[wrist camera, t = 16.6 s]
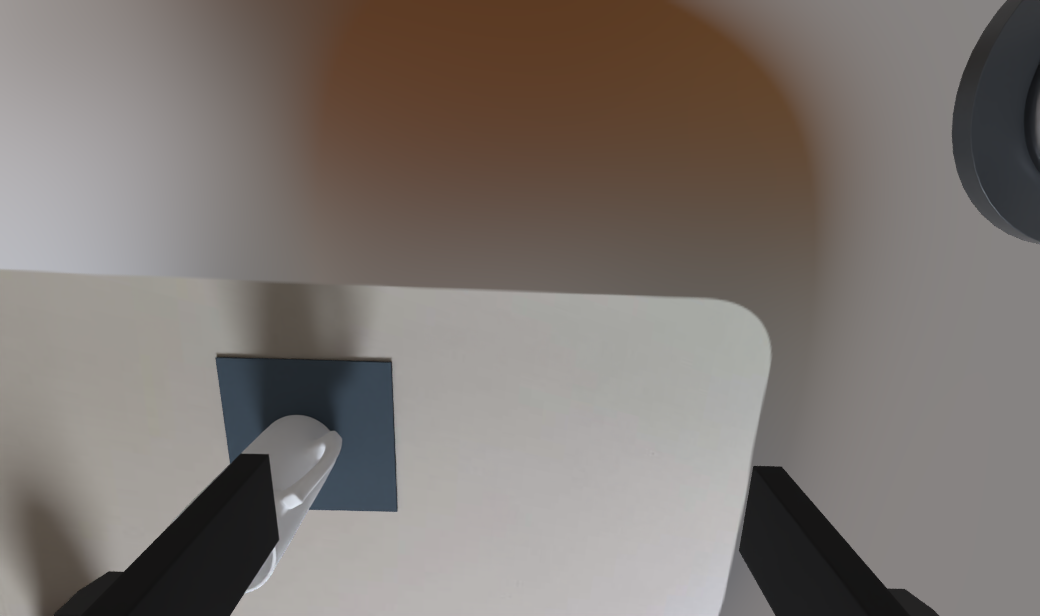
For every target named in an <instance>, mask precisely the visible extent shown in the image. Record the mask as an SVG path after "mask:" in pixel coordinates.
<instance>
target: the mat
mask: <svg viewBox="0 0 1040 616" xmlns="http://www.w3.org/2000/svg"><path fill="white" fill-rule="evenodd" d="M216 365H217V372H218V379H219V387H220V394H221V401H222V408H223V415H224V423H225V430H226V437H227V444H228V451H229V459H230V464H231V463H232V462H233V461H234V460H235V459H236V458H237V457H238V456H239V455H240V454H241V453H242V452H243V451H244V450H245V449H246V448H247V447H248V446H249V445H250V444H251V443H252V442H253V441H254V440H255V439H256V438H257V437H258V436H259V435H260V434H261V433H262V432H263V431H264V430H266V429H267V428H268V427H269V426H270V425H271V424H272V423H273V422H275V421H276V420H278V419H280V418H282V417H285V416H289V415H304V416H308V417H311V418H314V419H316V420H318V421H319V422H321V423H322V424H324V425H325V426H326V427H327V428H328V429H329V430H330V431H336V432H337V433H338V434H339V435H340V436H341V438H342V446H341V450H340V453H339V455H338V457H337V459H336V462H335V464H334V466H333V468H332V470H331V471H330V473H329V475H328V477H327V479H326V481H325V482H324V484H323V486H322V488H321V489H320V491H319V493H318V494H317V496H316V498H315V500H314V501H313V503H312V505H311V507H310V508H309V510H347V511H389V512H397V490H396V464H395V439H394V413H393V388H392V362H375V361H340V360H304V359H268V358H232V357H216Z"/></svg>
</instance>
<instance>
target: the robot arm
mask: <svg viewBox="0 0 1040 616" xmlns="http://www.w3.org/2000/svg"><path fill="white" fill-rule="evenodd" d="M1024 133H1025V140H1026V145H1027V149H1028V152H1029V155H1030V157H1031V160H1032V162H1033V164H1034V165H1035V167H1036V169H1037V170H1038V172H1039V173H1040V65H1039V66H1038V68H1037V70H1036V73H1035V75H1034V78H1033V80H1032V83H1031V86H1030V89H1029V92H1028V96H1027V101H1026V106H1025V114H1024ZM278 541H279V532H278V524H277V516H276V508H275V500H274V492H273V483H272V475H271V467H270V459H269V454H242V453H241V454H240V455H239V456H238V457H237V458H236V459H235V460H234V461H233V462H232V463H231V464H230V465H229V466H228V467H227V468H226V469H225V470H224V471H223V472H222V473H221V474H220V475H219V476H218V477H217V478H216V479H215V480H214V481H213V482H212V483H211V484H210V485H209V486H208V487H207V488H206V489H205V490H204V491H203V492H202V493H201V494H200V495H199V496H198V497H197V498H196V499H195V500H194V501H193V502H192V503H191V504H190V505H189V506H188V507H187V508H186V509H185V510H184V511H183V512H182V513H181V514H180V515H179V516H178V517H177V518H176V520H175V521H174V522H173V523H172V524H171V525H170V526H169V527H168V528H167V529H166V530H165V531H164V532H163V533H162V534H161V535H160V536H159V537H158V538H157V539H156V540H155V541H154V542H153V543H152V544H151V545H150V546H149V547H148V548H147V549H146V550H145V551H144V552H143V553H142V554H141V555H140V556H139V557H138V558H137V559H136V560H135V561H134V562H133V563H132V564H131V565H130V566H129V567H128V568H127V569H126V570H125V571H124V572H107V573H106V574H104V575H103V576H101V577H100V578H98V579H96V580H95V581H93V582H92V583H90V584H89V585H87V586H86V587H84V588H82V589H81V590H79V591H78V592H77V593H76V594H75V595H74V596H73V597H72V598H71V599H70V600H69V601H67V602H66V603H65V604H64V605H63V606H62V607H61V608H60V609H59V610H58V611H57V612H56V613H55V614H54V616H230V615H231V613H232V612H233V610H234V609H235V607H236V605H237V604H238V602H239V601H240V599H241V598H242V596H243V595H244V593H245V592H246V590H247V589H248V587H249V586H250V584H251V582H252V581H253V579H254V578H255V576H256V575H257V573H258V572H259V570H260V569H261V567H262V566H263V564H264V563H265V561H266V560H267V558H268V556H269V555H270V553H271V552H272V550H273V549H274V547H275V546H276V544H277V543H278ZM739 551H740V553H741V555H742V557H743V559H744V561H745V562H746V564H747V566H748V568H749V569H750V571H751V573H752V575H753V576H754V578H755V580H756V582H757V584H758V585H759V587H760V589H761V590H762V592H763V594H764V596H765V598H766V600H767V601H768V603H769V605H770V607H771V608H772V610H773V612H774V614H775V615H776V616H939V615H938V614H937V613H936V612H935V611H934V610H933V609H931V608H930V607H929V606H927V605H926V604H925V603H923V602H922V601H920V600H919V599H918V598H916V597H915V596H914V595H912V594H911V593H909V592H908V591H907V590H905V589H887V588H886V587H885V586H884V585H883V583H882V582H881V581H880V580H879V579H878V578H877V577H876V575H875V574H874V573H873V572H872V571H871V570H870V568H869V567H868V566H867V565H866V564H865V563H864V561H863V560H862V559H861V558H860V557H859V556H858V555H857V554H856V552H855V551H854V550H853V549H852V548H851V547H850V545H849V544H848V543H847V542H846V541H845V539H844V538H843V537H842V536H841V535H840V534H839V533H838V531H837V530H836V529H835V528H834V527H833V526H832V525H831V523H830V522H829V521H828V520H827V519H826V518H825V516H824V515H823V514H822V513H821V512H820V511H819V510H818V508H817V507H816V506H815V505H814V504H813V502H812V501H811V500H810V499H809V498H808V497H807V496H806V495H805V493H804V492H803V491H802V490H801V489H800V487H799V486H798V485H797V484H796V483H795V482H794V480H793V479H792V478H791V477H790V476H789V475H788V474H787V472H786V471H785V470H784V469H783V468H782V467H774V466H754V467H753V472H752V477H751V483H750V489H749V495H748V501H747V507H746V512H745V518H744V525H743V530H742V536H741V542H740V548H739Z"/></svg>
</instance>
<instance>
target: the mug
mask: <svg viewBox="0 0 1040 616" xmlns="http://www.w3.org/2000/svg"><path fill="white" fill-rule="evenodd" d="M341 446H342V438H341V436H340V435H339V434H338V433H337V432H336V431H330V430H329V429H328V428H327V427H326V426H325V425H324V424H322V423H321V422H319V421H318V420H316V419H314V418H311V417H308V416H304V415H289V416H285V417H282V418H280V419H278V420H276V421H275V422H273V423H272V424H271V425H270V426H269V427H268V428H267V429H266V430H264V431H263V432H262V433H261V434H260V435H259V436H258V437H257V438H256V439H255V440H254V441H253V442H252V443H251V444H250V445H249V446H248V447H247V448H246V449H245V450H244V451H243V452H242V454H269V459H270V467H271V475H272V483H273V492H274V500H275V508H276V516H277V524H278V532H279V541H278V543H277V544H276V546H275V547H274V549H273V550H272V552H271V553H270V555H269V556H268V558H267V560H266V561H265V563H264V564H263V566H262V567H261V569H260V570H259V572H258V573H257V575H256V576H255V578H254V579H253V581H252V582H251V584H250V586H249V587H248V589H247V590H246V592H245V593H248V592H251V591H253V590H255V589H257V588H259V587H260V586H261V585H263V584H264V583H265V582H266V581H267V580H268V579H269V577H270V576H271V575H272V573H273V571H274V569H275V567H276V565H277V564H278V562H279V560H280V559H281V557H282V556H283V554H284V552H285V551H286V549H287V547H288V545H289V544H290V542H291V540H292V538H293V537H294V535H295V533H296V531H297V530H298V528H299V526H300V524H301V523H302V521H303V519H304V517H305V515H306V514H307V512H308V510H309V508H310V507H311V505H312V503H313V501H314V500H315V498H316V496H317V494H318V493H319V491H320V489H321V488H322V486H323V484H324V482H325V481H326V479H327V477H328V475H329V473H330V471H331V470H332V468H333V466H334V464H335V462H336V459H337V457H338V455H339V453H340V450H341ZM228 466H229V465H228ZM228 466H227V467H228ZM227 467H226V468H227ZM226 468H225V469H226ZM225 469H224V470H225ZM224 470H223V471H224ZM223 471H222V472H223ZM222 472H221V473H222ZM221 473H220V474H221ZM220 474H219V475H220ZM219 475H218V476H219ZM218 476H217V477H218ZM217 477H216V478H217ZM216 478H215V479H216ZM215 479H214V480H215ZM214 480H213V481H214ZM213 481H212V482H213ZM212 482H211V483H212ZM211 483H210V484H211ZM210 484H209V485H210ZM209 485H208V486H209ZM208 486H207V487H208ZM207 487H206V488H207ZM206 488H205V489H206ZM205 489H204V490H205ZM204 490H203V491H204ZM203 491H202V492H203ZM202 492H201V493H202ZM201 493H200V494H201ZM200 494H199V495H200ZM199 495H198V496H199ZM198 496H197V497H198ZM197 497H196V498H197ZM196 498H195V499H196ZM195 499H194V500H195ZM194 500H193V501H194ZM193 501H192V502H193ZM192 502H191V503H192ZM191 503H190V504H191ZM190 504H189V505H190ZM189 505H188V506H189ZM188 506H187V507H188ZM187 507H186V508H187ZM186 508H185V509H186ZM185 509H184V510H185ZM184 510H183V511H184ZM183 511H182V512H183ZM182 512H181V513H182ZM181 513H180V514H181ZM180 514H179V515H180ZM179 515H178V516H179ZM178 516H177V517H178ZM177 517H176V518H177ZM176 518H175V519H174V520H173V521H172V523H173V522H174V521H175V520H176ZM172 523H171V524H172ZM171 524H170V525H171ZM245 593H244V594H245Z"/></svg>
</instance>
